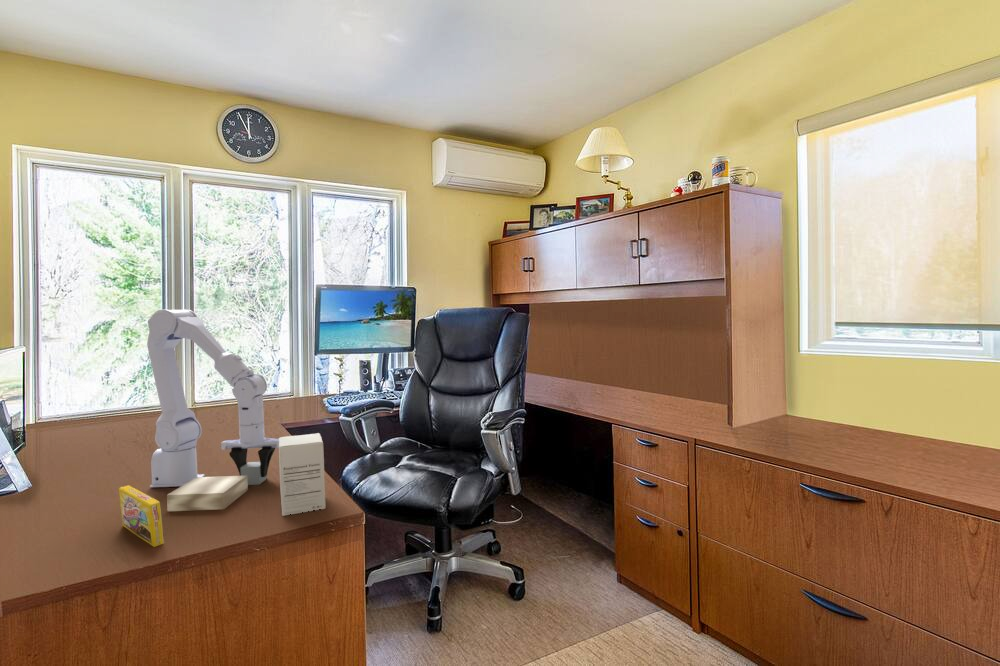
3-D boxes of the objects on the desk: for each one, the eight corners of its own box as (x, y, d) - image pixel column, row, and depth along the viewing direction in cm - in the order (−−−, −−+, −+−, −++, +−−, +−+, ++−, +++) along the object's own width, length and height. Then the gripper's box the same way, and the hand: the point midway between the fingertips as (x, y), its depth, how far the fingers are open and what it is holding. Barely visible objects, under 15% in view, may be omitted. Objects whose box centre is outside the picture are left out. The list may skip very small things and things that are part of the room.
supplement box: (280, 502, 116) (278, 436, 115) (322, 495, 120) (320, 432, 119) (281, 516, 108) (278, 446, 107) (326, 509, 111) (323, 441, 111)
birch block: (167, 513, 112) (166, 495, 112) (197, 493, 124) (196, 477, 124) (224, 510, 113) (223, 492, 113) (247, 491, 125) (247, 475, 125)
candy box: (120, 527, 104) (118, 487, 104) (132, 523, 106) (130, 484, 106) (151, 548, 94) (149, 504, 94) (164, 544, 96) (162, 500, 96)
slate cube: (241, 485, 128) (240, 467, 128) (248, 479, 133) (248, 462, 133) (259, 484, 128) (258, 466, 128) (266, 478, 133) (266, 461, 133)
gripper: (214, 427, 126) (216, 482, 126) (274, 425, 126) (277, 480, 127) (227, 421, 133) (230, 473, 133) (285, 419, 133) (287, 471, 134)
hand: (253, 476), depth 131 cm, fingers closed on slate cube, 4 cm apart
